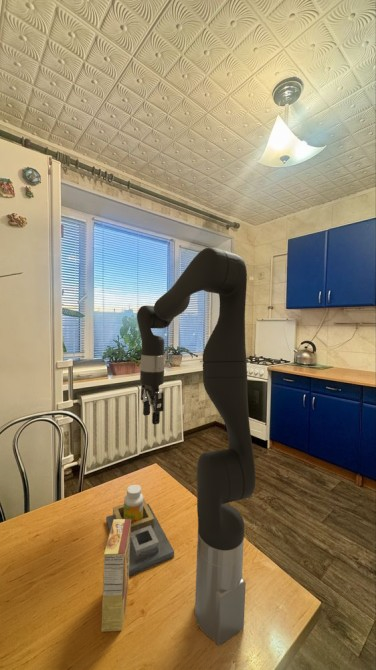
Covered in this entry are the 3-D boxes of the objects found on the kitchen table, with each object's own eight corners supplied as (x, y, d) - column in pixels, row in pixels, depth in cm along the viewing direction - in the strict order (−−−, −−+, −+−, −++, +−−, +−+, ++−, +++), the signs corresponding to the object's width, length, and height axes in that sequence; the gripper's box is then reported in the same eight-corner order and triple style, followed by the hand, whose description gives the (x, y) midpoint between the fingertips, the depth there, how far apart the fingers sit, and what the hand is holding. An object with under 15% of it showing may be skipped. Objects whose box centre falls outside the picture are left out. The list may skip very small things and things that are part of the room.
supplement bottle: (119, 526, 71) (120, 492, 71) (129, 512, 77) (130, 481, 76) (137, 531, 70) (138, 496, 70) (145, 517, 75) (146, 485, 75)
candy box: (110, 585, 57) (112, 518, 56) (129, 584, 57) (131, 517, 56) (100, 633, 48) (102, 554, 47) (123, 631, 48) (125, 553, 48)
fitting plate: (174, 557, 64) (174, 541, 64) (122, 579, 58) (122, 562, 58) (148, 508, 81) (148, 495, 81) (106, 521, 75) (106, 508, 75)
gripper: (172, 372, 77) (170, 425, 77) (155, 365, 89) (153, 410, 90) (148, 373, 73) (147, 429, 74) (134, 366, 86) (133, 413, 86)
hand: (150, 419), depth 82 cm, fingers open, 8 cm apart
